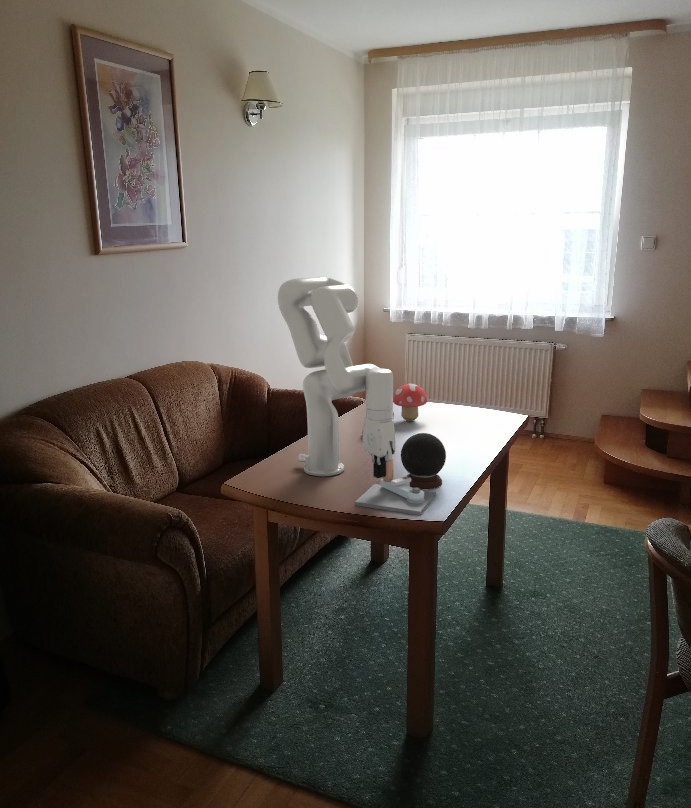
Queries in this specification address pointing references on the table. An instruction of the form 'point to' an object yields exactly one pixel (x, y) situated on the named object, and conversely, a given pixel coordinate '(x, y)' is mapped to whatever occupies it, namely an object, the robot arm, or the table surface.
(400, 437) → the table surface
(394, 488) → the white lever handle
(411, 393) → the decorative mushroom
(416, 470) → the black stone ball
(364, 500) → the pintle board
